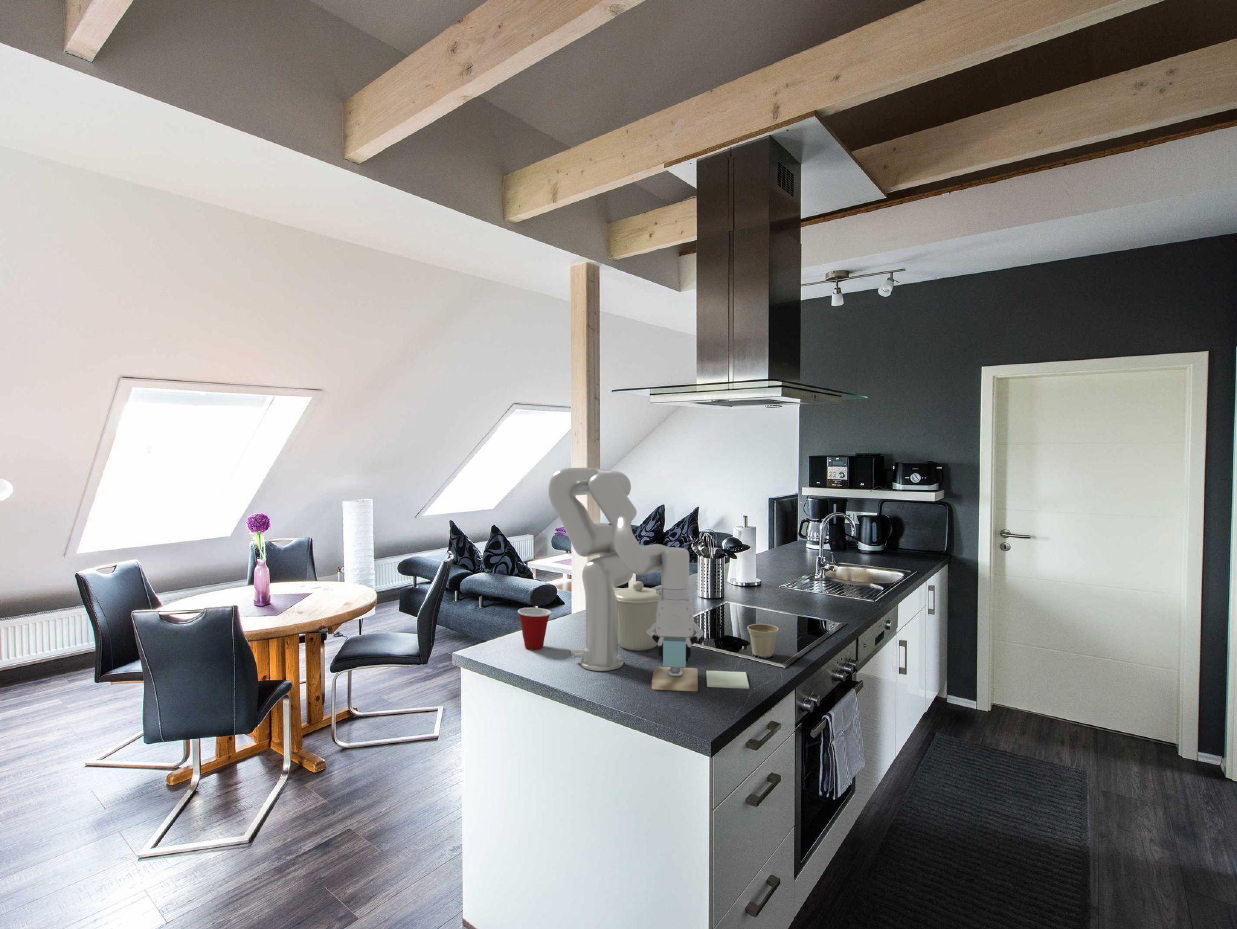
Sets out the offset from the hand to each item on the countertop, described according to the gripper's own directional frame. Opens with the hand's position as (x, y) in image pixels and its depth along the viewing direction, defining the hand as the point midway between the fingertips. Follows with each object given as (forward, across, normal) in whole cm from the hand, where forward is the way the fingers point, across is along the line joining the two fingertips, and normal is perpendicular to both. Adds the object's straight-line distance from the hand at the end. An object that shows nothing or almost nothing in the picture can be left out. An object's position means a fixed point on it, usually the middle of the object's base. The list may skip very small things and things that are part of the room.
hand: (674, 659), depth 170 cm
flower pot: (+6, +26, +26) cm, 37 cm away
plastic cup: (+7, -46, +26) cm, 53 cm away
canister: (+7, -13, +31) cm, 34 cm away
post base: (+6, 0, 0) cm, 6 cm away
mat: (+6, +14, +3) cm, 16 cm away
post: (+4, 0, 0) cm, 4 cm away
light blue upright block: (+1, 0, 0) cm, 1 cm away
